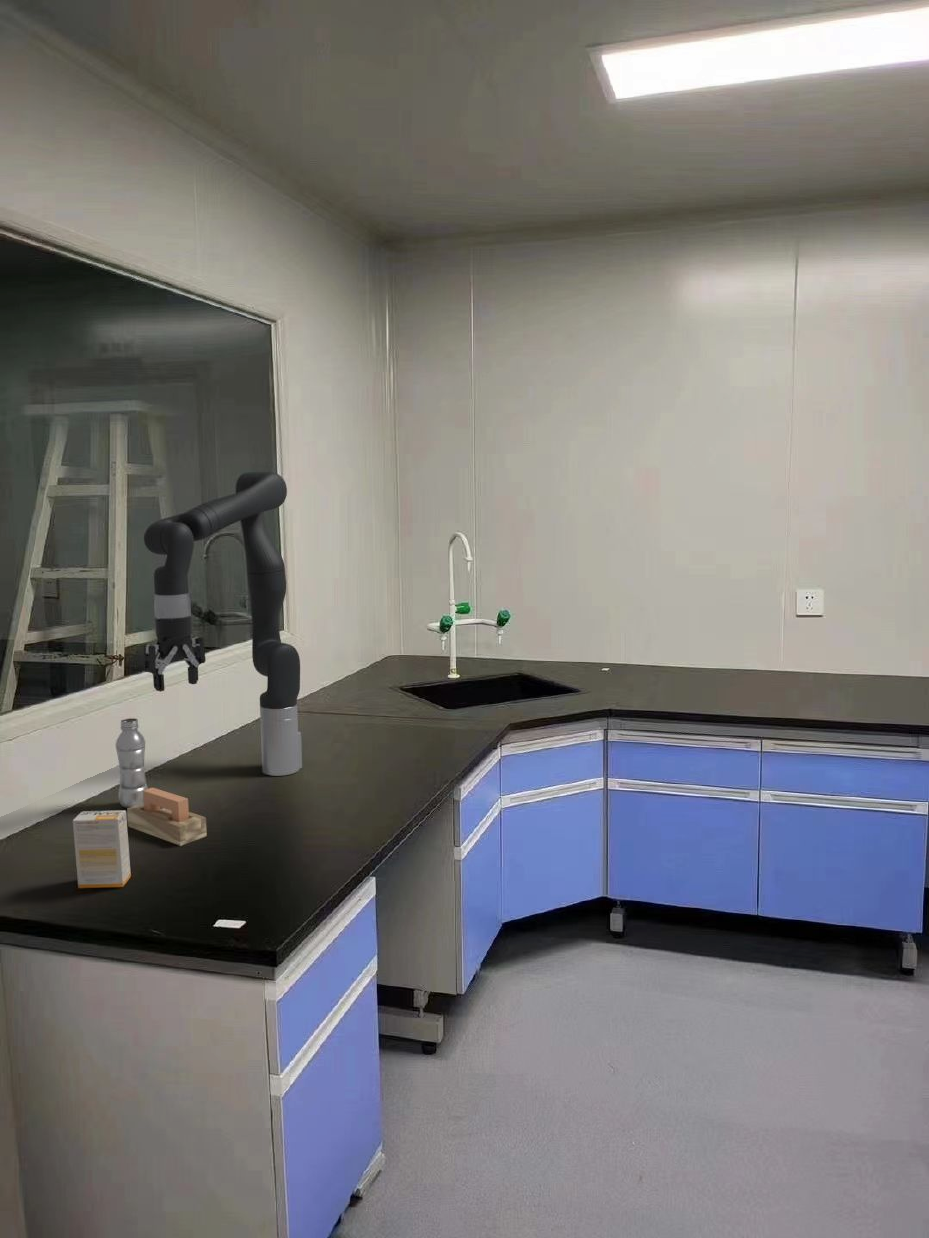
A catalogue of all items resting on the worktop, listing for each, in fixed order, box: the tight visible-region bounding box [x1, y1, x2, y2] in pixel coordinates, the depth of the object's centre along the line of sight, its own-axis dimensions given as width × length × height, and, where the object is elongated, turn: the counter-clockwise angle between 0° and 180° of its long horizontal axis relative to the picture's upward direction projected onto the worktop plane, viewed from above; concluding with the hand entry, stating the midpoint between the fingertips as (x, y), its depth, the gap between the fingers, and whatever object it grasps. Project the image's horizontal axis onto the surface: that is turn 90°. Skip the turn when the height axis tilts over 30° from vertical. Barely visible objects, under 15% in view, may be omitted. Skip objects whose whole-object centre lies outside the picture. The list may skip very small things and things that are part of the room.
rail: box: [126, 803, 207, 847], centre depth 189 cm, size 6×18×4 cm, turn 54°
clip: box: [143, 787, 190, 822], centre depth 188 cm, size 2×12×7 cm, turn 54°
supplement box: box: [72, 809, 132, 889], centre depth 163 cm, size 8×5×13 cm, turn 92°
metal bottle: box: [115, 717, 149, 809], centre depth 203 cm, size 6×7×20 cm
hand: (176, 687), depth 198 cm, fingers open, 8 cm apart
